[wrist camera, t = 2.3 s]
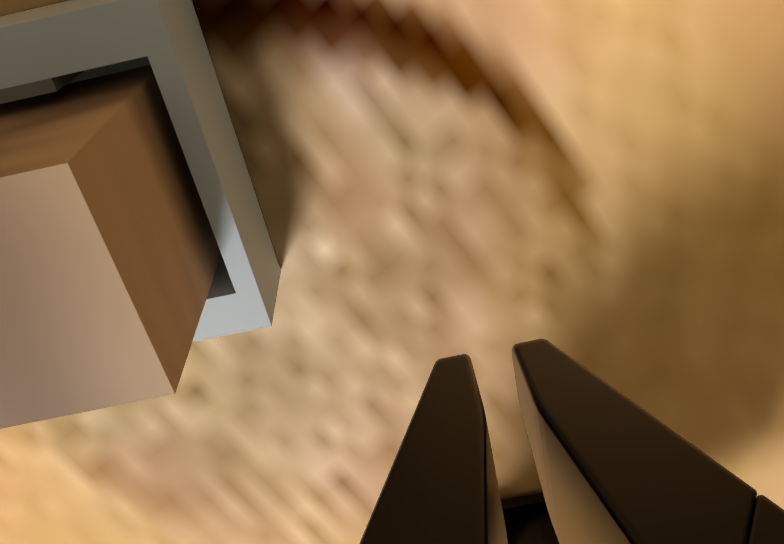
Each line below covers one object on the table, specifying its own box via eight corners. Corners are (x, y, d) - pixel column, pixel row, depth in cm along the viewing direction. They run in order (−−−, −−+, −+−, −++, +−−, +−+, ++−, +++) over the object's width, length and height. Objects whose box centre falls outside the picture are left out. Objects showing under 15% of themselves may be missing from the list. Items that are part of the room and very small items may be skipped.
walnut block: (163, 61, 18) (68, 163, 12) (227, 235, 20) (174, 393, 14) (-62, 112, 18) (-271, 237, 12) (28, 277, 20) (-108, 450, 14)
